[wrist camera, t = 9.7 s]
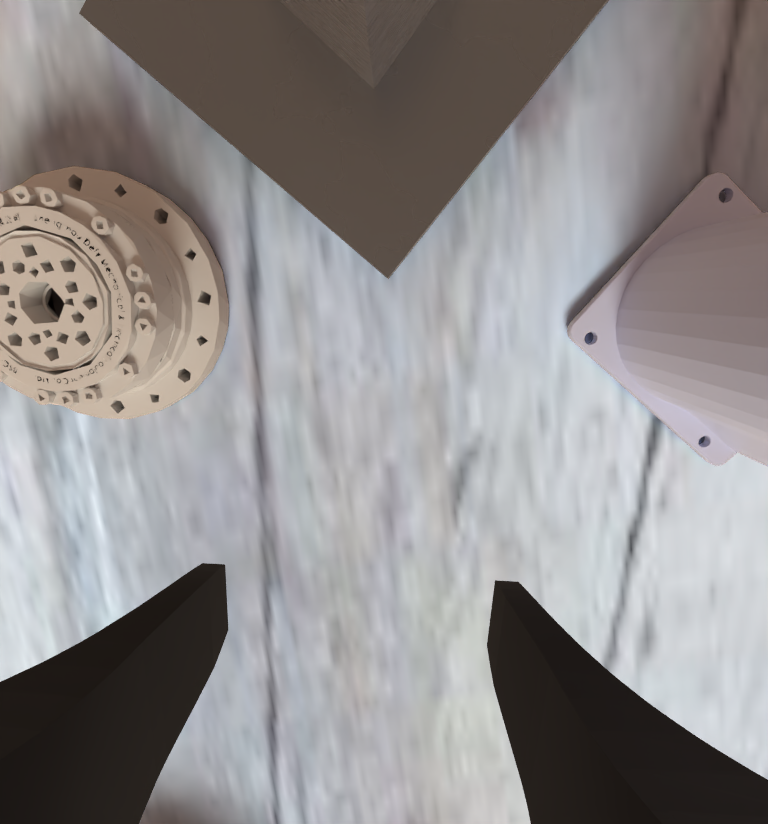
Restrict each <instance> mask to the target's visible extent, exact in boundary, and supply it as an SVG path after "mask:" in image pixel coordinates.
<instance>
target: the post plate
mask: <svg viewBox="0 0 768 824" xmlns="http://www.w3.org/2000/svg"><path fill="white" fill-rule="evenodd" d="M608 1H609V0H437V1H436V2H435V3H434V5H433V6H432V8H431V9H430V11H429V12H428V13H427V15H426V16H425V18H424V19H423V20H422V22H421V23H420V25H419V26H418V27H417V29H416V30H415V32H414V33H413V35H412V36H411V37H410V39H409V40H408V42H407V43H406V44H405V46H404V47H403V49H402V50H401V52H400V53H399V54H398V56H397V57H396V59H395V60H394V61H393V63H392V64H391V66H390V67H389V69H388V70H387V71H386V73H385V74H384V76H383V77H382V78H381V80H380V81H379V83H378V84H377V85H376V87H375V88H372V87H371V86H370V85H369V84H368V83H367V82H366V81H365V80H364V79H363V78H362V77H361V76H360V75H359V74H358V73H356V72H355V71H354V70H353V69H352V68H351V67H350V66H349V65H348V64H347V63H346V62H345V61H344V60H343V59H341V58H340V57H339V56H338V55H337V54H336V53H335V52H334V51H333V50H332V49H331V48H330V47H329V46H328V45H327V44H325V43H324V42H323V41H322V40H321V39H320V38H319V37H318V36H317V35H316V34H315V33H314V32H313V31H312V30H311V29H309V28H308V27H307V26H306V25H305V24H304V23H303V22H302V21H301V20H300V19H299V18H298V17H297V16H296V15H294V14H293V13H292V12H291V11H290V10H289V9H288V8H287V7H286V6H285V5H284V4H283V3H282V2H281V1H280V0H86V1H85V3H84V5H83V7H82V9H81V11H80V14H81V15H82V16H83V17H84V18H85V19H86V20H88V21H89V22H90V23H91V24H92V25H93V26H94V27H95V28H97V29H98V30H99V31H100V32H101V33H102V34H103V35H105V36H106V37H107V38H108V39H109V40H110V41H112V42H113V43H114V44H115V45H116V46H117V47H119V48H120V49H121V50H122V51H123V52H124V53H126V54H127V55H128V56H129V57H130V58H131V59H133V60H134V61H135V62H136V63H137V64H138V65H140V66H141V67H142V68H143V69H144V70H145V71H147V72H148V73H149V74H150V75H151V76H152V77H154V78H155V79H156V80H157V81H158V82H159V83H161V84H162V85H163V86H164V87H165V88H166V89H167V90H169V91H170V92H171V93H172V94H173V95H174V96H176V97H177V98H178V99H179V100H180V101H181V102H183V103H184V104H185V105H186V106H187V107H188V108H190V109H191V110H192V111H193V112H194V113H195V114H197V115H198V116H199V117H200V118H201V119H202V120H204V121H205V122H206V123H207V124H208V125H209V126H211V127H212V128H213V129H214V130H215V131H216V132H218V133H219V134H220V135H221V136H222V137H223V138H225V139H226V140H227V141H228V142H229V143H230V144H232V145H233V146H234V147H235V148H236V149H237V150H239V151H240V152H241V153H242V154H243V155H244V156H246V157H247V158H248V159H249V160H250V161H251V162H253V163H254V164H255V165H256V166H257V167H258V168H260V169H261V170H262V171H263V172H264V173H265V174H267V175H268V176H269V177H270V178H271V179H272V180H273V181H275V182H276V183H277V184H278V185H279V186H280V187H282V188H283V189H284V190H285V191H286V192H287V193H289V194H290V195H291V196H292V197H293V198H294V199H296V200H297V201H298V202H299V203H300V204H301V205H303V206H304V207H305V208H306V209H307V210H308V211H310V212H311V213H312V214H313V215H314V216H315V217H317V218H318V219H319V220H320V221H321V222H322V223H324V224H325V225H326V226H327V227H328V228H329V229H331V230H332V231H333V232H334V233H335V234H336V235H338V236H339V237H340V238H341V239H342V240H343V241H345V242H346V243H347V244H348V245H349V246H350V247H352V248H353V249H354V250H355V251H356V252H357V253H359V254H360V255H361V256H362V257H363V258H364V259H366V260H367V261H368V262H369V263H370V264H371V265H373V266H374V267H375V268H376V269H377V270H378V271H379V272H381V273H382V274H383V275H384V276H385V277H386V278H388V279H389V278H390V277H391V275H392V274H393V273H394V272H395V270H396V269H397V268H398V267H399V265H400V264H401V263H402V262H403V260H404V259H405V258H406V256H407V255H408V254H409V253H410V251H411V250H412V249H413V248H414V246H415V245H416V244H417V243H418V241H419V240H420V239H421V237H422V236H423V235H424V234H425V232H426V231H427V230H428V229H429V227H430V226H431V225H432V224H433V222H434V221H435V220H436V218H437V217H438V216H439V215H440V213H441V212H442V211H443V210H444V208H445V207H446V206H447V205H448V203H449V202H450V201H451V200H452V198H453V197H454V196H455V194H456V193H457V192H458V191H459V189H460V188H461V187H462V186H463V184H464V183H465V182H466V181H467V179H468V178H469V177H470V175H471V174H472V173H473V172H474V170H475V169H476V168H477V167H478V165H479V164H480V163H481V162H482V160H483V159H484V158H485V156H486V155H487V154H488V153H489V151H490V150H491V149H492V148H493V146H494V145H495V144H496V143H497V141H498V140H499V139H500V138H501V136H502V135H503V134H504V132H505V131H506V130H507V129H508V127H509V126H510V125H511V124H512V122H513V121H514V120H515V119H516V117H517V116H518V115H519V113H520V112H521V111H522V110H523V108H524V107H525V106H526V105H527V103H528V102H529V101H530V100H531V98H532V97H533V96H534V94H535V93H536V92H537V91H538V89H539V88H540V87H541V86H542V84H543V83H544V82H545V81H546V79H547V78H548V77H549V76H550V74H551V73H552V72H553V70H554V69H555V68H556V67H557V65H558V64H559V63H560V62H561V60H562V59H563V58H564V57H565V55H566V54H567V53H568V51H569V50H570V49H571V48H572V46H573V45H574V44H575V43H576V41H577V40H578V39H579V38H580V36H581V35H582V34H583V32H584V31H585V30H586V29H587V27H588V26H589V25H590V24H591V22H592V21H593V20H594V19H595V17H596V16H597V15H598V14H599V12H600V11H601V10H602V8H603V7H604V6H605V5H606V3H607V2H608Z"/></svg>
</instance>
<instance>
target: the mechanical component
mask: <svg viewBox="0 0 768 824" xmlns="http://www.w3.org/2000/svg"><path fill="white" fill-rule="evenodd" d="M209 294H210V295H211V299H210V302H209ZM228 318H229V303H228V298H227V293H226V287H225V282H224V277H223V271H222V269H221V267H220V265H219V263H218V261H217V259H216V257H215V254H214V252H213V250H212V248H211V246H210V244H209V242H208V240H207V239H206V237H205V236H204V235H203V233H202V232H201V231H200V229H199V228H198V227H197V225H196V224H195V223H194V221H193V220H192V219H191V218H190V217H189V216H188V215H187V214H186V213H185V212H184V211H182V210H181V209H180V208H179V207H178V206H177V205H176V204H175V203H174V202H173V201H171V200H170V199H168V198H167V197H165V196H163V195H162V194H160V193H158V192H157V191H155V190H153V189H152V188H150V187H148V186H146V185H144V184H142V183H140V182H137V181H135V180H133V179H130V178H128V177H126V176H123V175H121V174H119V173H116V172H113V171H106V170H99V169H92V168H85V167H78V166H71V167H67V168H62V169H58V170H53V171H49V172H44V173H40V174H35V175H33V176H32V177H30V178H29V179H28V180H26V181H25V182H23V183H22V184H20V185H17V186H15V187H14V188H13V189H8V190H6V191H3V192H1V191H0V382H4V383H5V384H6V385H8V386H9V387H11V388H13V389H15V390H17V391H19V392H20V393H22V394H24V395H26V396H28V397H30V398H34V400H35V401H36V402H37V403H38V404H41V405H46V404H49V403H50V404H54V405H62V406H64V407H67V408H69V409H71V410H73V411H75V412H78V413H82V414H86V415H90V416H94V417H99V418H117V419H132V418H135V417H139V416H143V415H146V414H150V413H154V412H158V411H160V410H163V409H165V408H167V407H169V406H171V405H173V404H174V403H176V402H178V401H179V400H181V399H182V398H184V397H186V396H187V395H189V394H191V393H192V392H194V391H195V390H196V389H197V387H198V386H199V385H200V384H201V383H202V382H203V381H204V379H205V378H206V377H207V376H208V375H209V374H210V372H211V371H212V370H213V368H214V366H215V364H216V362H217V360H218V358H219V356H220V354H221V352H222V349H223V346H224V342H225V338H226V334H227V330H228Z"/></svg>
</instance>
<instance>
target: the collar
mask: <svg viewBox="0 0 768 824" xmlns="http://www.w3.org/2000/svg"><path fill="white" fill-rule="evenodd" d="M280 1H281V2H282V3H283V4H284V5H285V6H286V7H287V8H288V9H289V10H290V11H291V12H292V13H293V14H294V15H296V16H297V17H298V18H299V19H300V20H301V21H302V22H303V23H304V24H305V25H306V26H307V27H308V28H309V29H311V30H312V31H313V32H314V33H315V34H316V35H317V36H318V37H319V38H320V39H321V40H322V41H323V42H324V43H325V44H327V45H328V46H329V47H330V48H331V49H332V50H333V51H334V52H335V53H336V54H337V55H338V56H339V57H340V58H341V59H343V60H344V61H345V62H346V63H347V64H348V65H349V66H350V67H351V68H352V69H353V70H354V71H355V72H356V73H358V74H359V75H360V76H361V77H362V78H363V79H364V80H365V81H366V82H367V83H368V84H369V85H370V86H371V87H372V88H375V87H376V85H377V84H378V83H379V81H380V80H381V78H382V77H383V76H384V74H385V73H386V71H387V70H388V69H389V67H390V66H391V64H392V63H393V61H394V60H395V59H396V57H397V56H398V54H399V53H400V52H401V50H402V49H403V47H404V46H405V44H406V43H407V42H408V40H409V39H410V37H411V36H412V35H413V33H414V32H415V30H416V29H417V27H418V26H419V25H420V23H421V22H422V20H423V19H424V18H425V16H426V15H427V13H428V12H429V11H430V9H431V8H432V6H433V5H434V3H435V2H436V1H437V0H280Z"/></svg>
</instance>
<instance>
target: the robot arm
mask: <svg viewBox="0 0 768 824" xmlns="http://www.w3.org/2000/svg"><path fill="white" fill-rule="evenodd" d="M721 190H722V191H724V192H725V194H726V198H725V200H724V202H721V201H720V200H719V193H720V192H721ZM589 332H592V334H593V340H592V342H590V343H589V344H586V342H585V341H584V339H585V336H586V334H587V333H589ZM567 334H568V337H569V338H570V339H571V340H572V341H573V342H574V343H575V344H576V345H577V346H578V347H580V348H581V349H582V350H583V351H584V352H585V353H586V354H587V355H588V356H590V357H591V358H592V359H593V360H594V361H595V362H596V363H597V364H598V365H600V366H601V367H602V368H603V369H604V370H605V371H606V372H607V373H608V374H610V375H611V376H612V377H613V378H614V379H615V380H616V381H617V382H618V383H620V384H621V385H622V386H623V387H624V388H625V389H626V390H627V391H628V392H630V393H631V394H632V395H633V396H634V397H635V398H636V399H637V400H638V401H640V402H641V403H642V404H643V405H644V406H645V407H646V408H647V409H648V410H650V411H651V412H652V413H653V414H654V415H655V416H656V417H657V418H658V419H660V420H661V421H662V422H663V423H664V424H665V425H666V426H667V427H668V428H670V429H671V430H672V431H673V432H674V433H675V434H676V435H677V436H678V437H680V438H681V439H682V440H683V441H684V442H685V443H686V444H687V445H688V446H690V447H691V448H692V449H693V450H694V451H695V452H696V453H697V454H698V455H700V456H701V457H702V458H703V459H704V460H705V461H707V462H708V463H710V464H712V465H715V466H720V465H723V464H725V463H726V462H727V461H729V460H730V459H731V458H732V457H733V456H734V455H735V454H736V453H737V452H738V453H740V454H742V455H744V456H746V457H748V458H751V459H753V460H755V461H757V462H759V463H761V464H763V465H766V466H768V212H765V213H763V212H762V211H761V210H760V209H759V208H758V207H757V206H756V205H755V204H754V203H753V202H752V201H751V200H750V199H749V198H748V197H747V196H746V195H745V194H744V193H743V192H742V191H741V190H740V189H739V187H738V186H737V185H736V184H735V183H734V182H733V181H732V180H731V179H730V178H729V177H728V176H727V175H726V174H724V173H721V172H716V173H713V174H710V175H708V176H706V177H705V178H703V179H702V180H701V181H700V182H699V183H698V185H697V186H696V187H695V188H694V189H693V190H692V191H691V192H690V193H689V194H688V195H687V197H686V198H685V199H684V200H683V201H682V202H681V203H680V204H679V205H678V206H677V207H676V208H675V210H674V211H673V212H672V213H671V214H670V215H669V216H668V217H667V218H666V219H665V220H664V221H663V223H662V224H661V225H660V226H659V227H658V228H657V229H656V230H655V231H654V232H653V233H652V234H651V236H650V237H649V238H648V239H647V240H646V241H645V242H644V243H643V244H642V245H641V246H640V247H639V249H638V250H637V251H636V252H635V253H634V254H633V255H632V256H631V257H630V258H629V259H628V260H627V262H626V263H625V264H624V265H623V266H622V267H621V268H620V269H619V270H618V271H617V272H616V273H615V275H614V276H613V277H612V278H611V279H610V280H609V281H608V282H607V283H606V284H605V285H604V286H603V288H602V289H601V290H600V291H599V292H598V293H597V294H596V295H595V296H594V297H593V298H592V300H591V301H590V302H589V303H588V304H587V305H586V306H585V307H584V308H583V309H582V310H581V311H580V313H579V314H578V315H577V316H576V317H575V318H574V319H573V320H572V321H571V322H570V324H569V325H568V328H567ZM703 436H705V440H704V441H703V443H701V444H698V442H699V439H700V438H701V437H703ZM227 632H228V615H227V595H226V575H225V565H222V564H205V563H202V564H201V565H199V566H197V567H196V568H194V569H193V570H191V571H190V572H188V573H187V574H185V575H184V576H182V577H181V578H180V579H178V580H177V581H175V582H174V583H172V584H171V585H170V586H168V587H167V588H165V589H164V590H162V591H161V592H159V593H158V594H156V595H155V596H153V597H152V598H151V599H149V600H148V601H146V602H145V603H143V604H142V605H140V606H139V607H137V608H136V609H134V610H133V611H131V612H129V613H128V614H126V615H125V616H123V617H121V618H120V619H118V620H117V621H115V622H113V623H112V624H110V625H109V626H107V627H105V628H104V629H102V630H101V631H99V632H97V633H96V634H94V635H92V636H91V637H89V638H87V639H85V640H84V641H82V642H80V643H78V644H76V645H75V646H73V647H71V648H69V649H67V650H65V651H63V652H61V653H60V654H58V655H56V656H54V657H52V658H50V659H48V660H46V661H44V662H42V663H40V664H38V665H36V666H34V667H32V668H30V669H27V670H25V671H23V672H21V673H19V674H17V675H14V676H12V677H10V678H8V679H6V680H4V681H1V682H0V824H139V822H140V819H141V817H142V814H143V812H144V810H145V807H146V805H147V802H148V800H149V798H150V795H151V793H152V790H153V788H154V786H155V783H156V781H157V779H158V776H159V774H160V772H161V770H162V768H163V766H164V764H165V762H166V760H167V758H168V756H169V754H170V752H171V750H172V748H173V746H174V744H175V742H176V740H177V738H178V736H179V735H180V733H181V731H182V729H183V727H184V725H185V723H186V721H187V719H188V717H189V715H190V713H191V712H192V710H193V708H194V706H195V704H196V702H197V700H198V698H199V696H200V694H201V692H202V690H203V688H204V686H205V684H206V682H207V681H208V679H209V677H210V675H211V673H212V671H213V669H214V666H215V664H216V661H217V659H218V656H219V653H220V651H221V648H222V645H223V643H224V640H225V637H226V634H227ZM487 648H488V654H489V661H490V667H491V673H492V678H493V684H494V688H495V692H496V695H497V699H498V702H499V706H500V709H501V713H502V716H503V720H504V723H505V727H506V730H507V734H508V737H509V741H510V744H511V747H512V751H513V754H514V758H515V761H516V765H517V768H518V772H519V775H520V778H521V782H522V786H523V790H524V794H525V798H526V802H527V806H528V811H529V816H530V821H531V824H768V780H767V779H765V778H764V777H762V776H760V775H758V774H757V773H755V772H753V771H751V770H750V769H748V768H746V767H745V766H743V765H741V764H740V763H738V762H737V761H735V760H733V759H732V758H730V757H728V756H727V755H725V754H723V753H722V752H720V751H718V750H717V749H715V748H714V747H712V746H710V745H709V744H707V743H706V742H704V741H703V740H701V739H699V738H698V737H696V736H695V735H693V734H692V733H690V732H689V731H687V730H686V729H685V728H683V727H682V726H680V725H679V724H677V723H676V722H674V721H673V720H671V719H670V718H669V717H667V716H666V715H664V714H663V713H661V712H660V711H659V710H657V709H656V708H655V707H653V706H652V705H650V704H649V703H648V702H646V701H645V700H644V699H643V698H641V697H640V696H639V695H637V694H636V693H635V692H634V691H632V690H631V689H630V688H629V687H627V686H626V685H625V684H624V683H622V682H621V681H620V680H618V679H617V678H616V677H615V676H614V675H613V674H611V673H610V672H609V671H608V670H607V669H605V668H604V667H603V666H602V665H601V664H600V663H599V662H598V661H597V660H595V659H594V658H593V657H592V656H591V655H590V654H589V653H588V652H587V651H585V650H584V649H583V648H582V647H581V646H580V645H579V644H578V643H577V642H576V641H575V640H574V639H573V638H572V637H571V636H570V635H569V634H568V633H567V632H566V631H565V630H564V629H563V628H562V627H561V626H560V625H559V624H558V623H557V622H556V621H555V620H554V619H553V618H552V617H551V616H550V615H549V614H548V613H547V612H546V611H545V610H544V608H543V607H542V606H541V605H540V604H539V603H538V602H537V601H536V600H535V599H534V598H533V597H532V596H531V595H530V594H529V592H528V591H527V590H526V589H525V588H524V587H523V586H522V585H521V584H520V583H519V582H511V581H495V586H494V594H493V602H492V610H491V618H490V626H489V634H488V642H487Z"/></svg>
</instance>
